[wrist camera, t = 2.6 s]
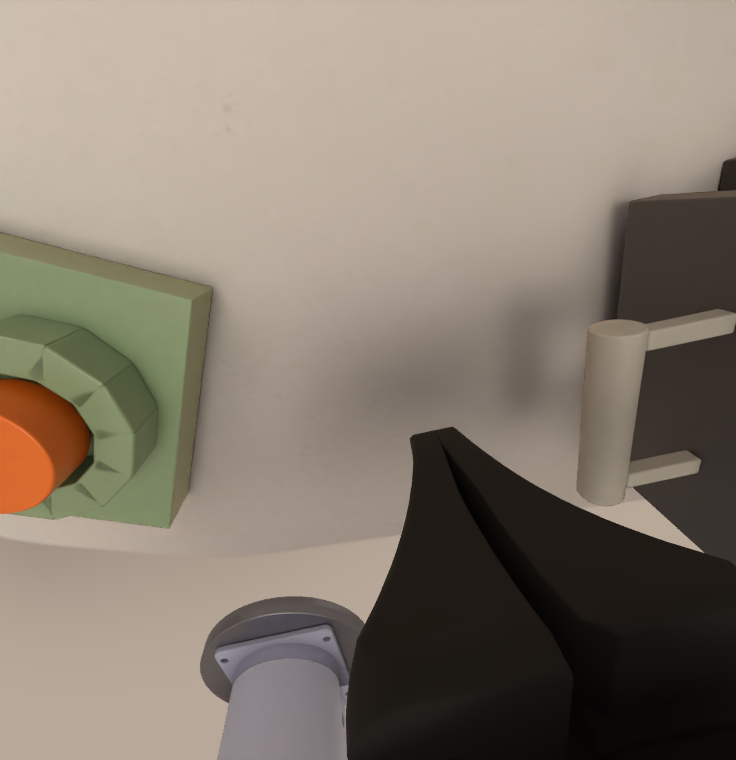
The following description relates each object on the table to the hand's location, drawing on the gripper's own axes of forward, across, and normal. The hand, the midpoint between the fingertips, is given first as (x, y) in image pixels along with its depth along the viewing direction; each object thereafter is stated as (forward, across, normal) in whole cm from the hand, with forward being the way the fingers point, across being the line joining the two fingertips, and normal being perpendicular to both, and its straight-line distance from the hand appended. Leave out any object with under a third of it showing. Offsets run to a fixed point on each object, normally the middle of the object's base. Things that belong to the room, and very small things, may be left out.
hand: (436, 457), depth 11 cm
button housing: (+5, +12, -3) cm, 14 cm away
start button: (+2, +12, -3) cm, 13 cm away
